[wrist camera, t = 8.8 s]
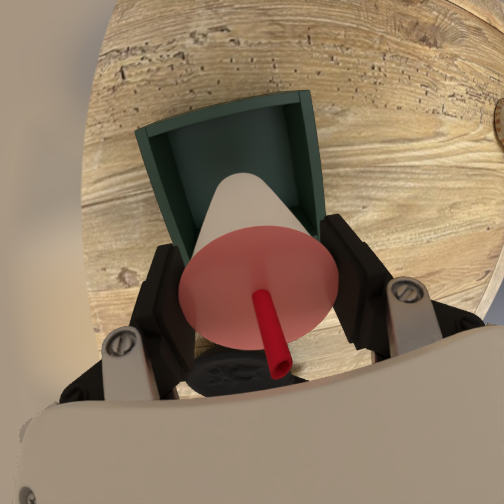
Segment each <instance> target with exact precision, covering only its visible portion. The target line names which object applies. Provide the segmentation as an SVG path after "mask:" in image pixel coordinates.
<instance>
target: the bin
mask: <svg viewBox="0 0 504 504" xmlns="http://www.w3.org/2000/svg"><path fill="white" fill-rule="evenodd" d="M134 132H135V135H136V139H137V142H138V145H139V149H140V152H141V155H142V158H143V161H144V164H145V167H146V170H147V173H148V176H149V179H150V182H151V185H152V188H153V191H154V194H155V197H156V199H157V202H158V205H159V208H160V211H161V213H162V216H163V219H164V221H165V224H166V227H167V229H168V232H169V235H170V237H171V240H172V242H173V245H174V246H178V248H179V250H180V253H181V256H182V259H183V262H184V265H185V268H186V266H187V265H188V263H189V262H190V260H191V258H192V255H193V252H194V249H195V246H196V243H197V240H198V237H199V234H200V231H201V228H202V226H203V223H204V220H205V217H206V214H207V212H208V209H209V206H210V203H211V201H212V198H213V196H214V194H215V191H216V189H217V187H218V185H219V184H220V183H221V182H222V181H223V180H224V179H225V178H227V177H229V176H231V175H233V174H237V173H249V174H253V175H255V176H257V177H259V178H260V179H262V180H263V181H264V182H265V183H266V185H267V186H268V187H269V188H270V189H271V190H272V191H273V192H274V193H275V194H276V195H277V196H278V198H279V199H280V200H281V201H282V202H283V203H284V204H285V206H286V207H287V208H288V209H289V210H290V211H291V213H292V214H293V215H294V216H295V217H296V218H297V220H298V221H299V222H300V223H301V224H302V226H303V227H304V228H305V229H306V230H307V232H308V233H309V234H310V235H311V236H312V237H313V238H314V239H316V240H317V241H319V242H320V220H324V216H326V210H325V199H324V188H323V179H322V170H321V161H320V153H319V145H318V138H317V131H316V124H315V118H314V111H313V105H312V99H311V94H310V90H295V91H283V92H276V93H270V94H264V95H258V96H253V97H247V98H242V99H237V100H233V101H228V102H224V103H219V104H215V105H211V106H207V107H203V108H199V109H196V110H192V111H189V112H185V113H182V114H178V115H175V116H172V117H168V118H165V119H162V120H159V121H156V122H154V123H151V124H149V125H147V126H144V127H142V128H139V129H137V130H135V131H134Z"/></svg>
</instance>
